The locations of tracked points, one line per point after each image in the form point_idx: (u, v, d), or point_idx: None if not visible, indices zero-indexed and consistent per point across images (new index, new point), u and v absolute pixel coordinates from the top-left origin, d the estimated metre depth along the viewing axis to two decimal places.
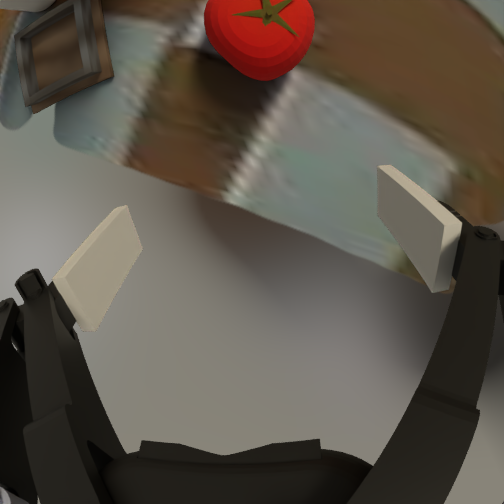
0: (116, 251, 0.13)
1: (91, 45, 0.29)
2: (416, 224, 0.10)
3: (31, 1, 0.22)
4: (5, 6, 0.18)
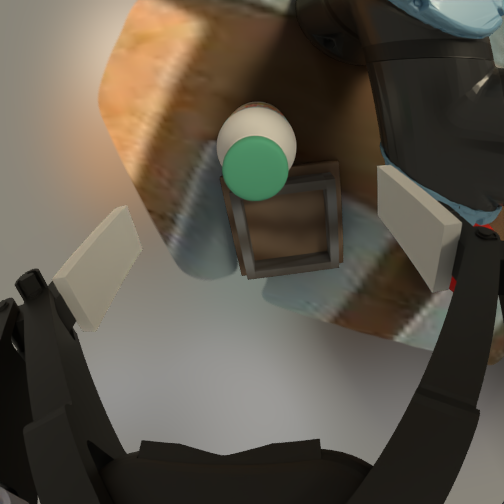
0: (116, 251, 0.13)
1: None
2: (416, 224, 0.10)
3: None
4: None
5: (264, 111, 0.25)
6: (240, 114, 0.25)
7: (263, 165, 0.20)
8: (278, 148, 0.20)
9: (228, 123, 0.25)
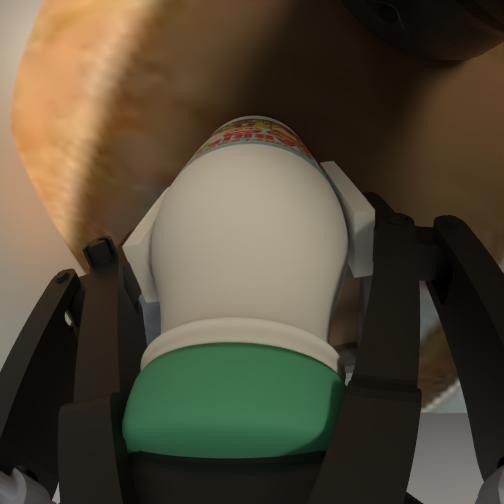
0: None
1: None
2: None
3: None
4: None
5: (271, 161, 0.09)
6: (203, 172, 0.09)
7: None
8: None
9: (171, 199, 0.09)
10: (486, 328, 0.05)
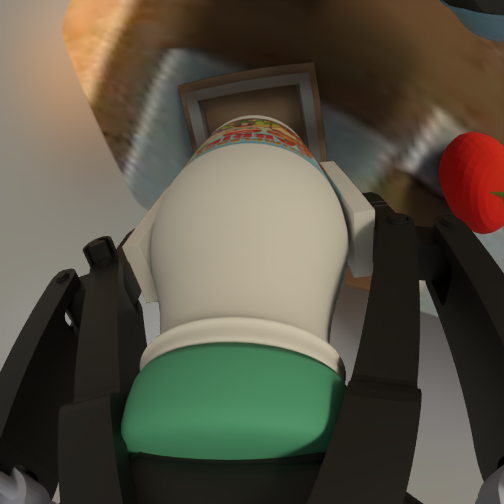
0: None
1: None
2: None
3: None
4: None
5: (271, 161, 0.09)
6: (202, 171, 0.09)
7: None
8: None
9: (170, 198, 0.09)
10: (486, 328, 0.05)
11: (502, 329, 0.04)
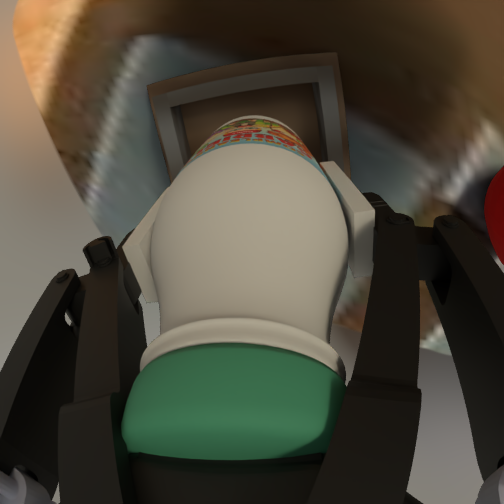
0: None
1: None
2: None
3: None
4: None
5: (271, 161, 0.09)
6: (202, 171, 0.09)
7: None
8: None
9: (170, 198, 0.09)
10: (486, 328, 0.05)
11: (502, 329, 0.04)
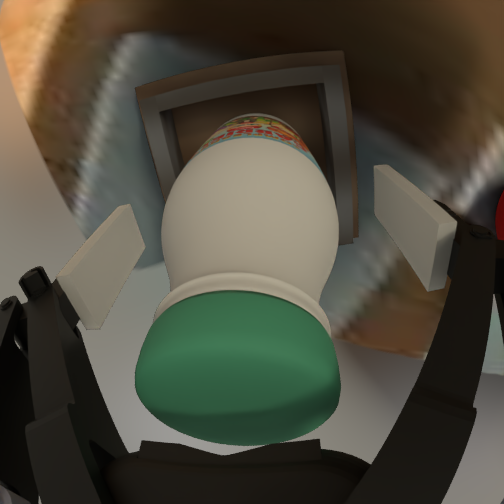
0: (119, 249, 0.14)
1: None
2: (412, 223, 0.10)
3: None
4: None
5: (268, 152, 0.10)
6: (209, 161, 0.10)
7: (261, 401, 0.06)
8: (318, 361, 0.05)
9: (180, 184, 0.11)
10: None
11: None
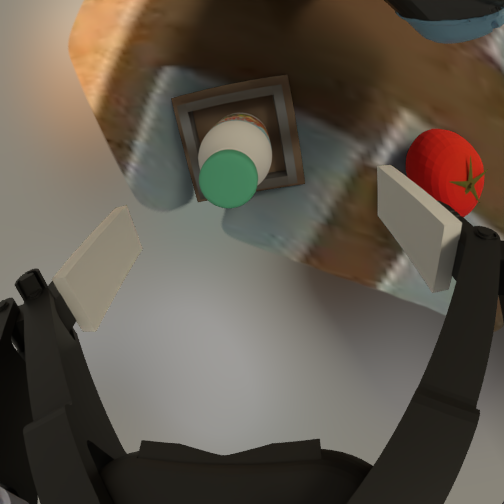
0: (116, 251, 0.13)
1: None
2: (416, 224, 0.10)
3: None
4: None
5: (240, 124, 0.27)
6: (218, 128, 0.27)
7: (234, 176, 0.23)
8: (247, 160, 0.22)
9: (207, 136, 0.28)
10: None
11: None
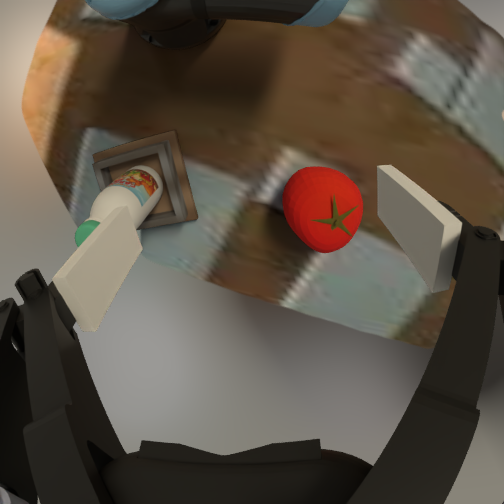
0: (116, 251, 0.13)
1: (179, 194, 0.48)
2: (416, 224, 0.10)
3: None
4: None
5: (113, 191, 0.37)
6: (100, 194, 0.37)
7: None
8: None
9: (94, 201, 0.37)
10: None
11: None
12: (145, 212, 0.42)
